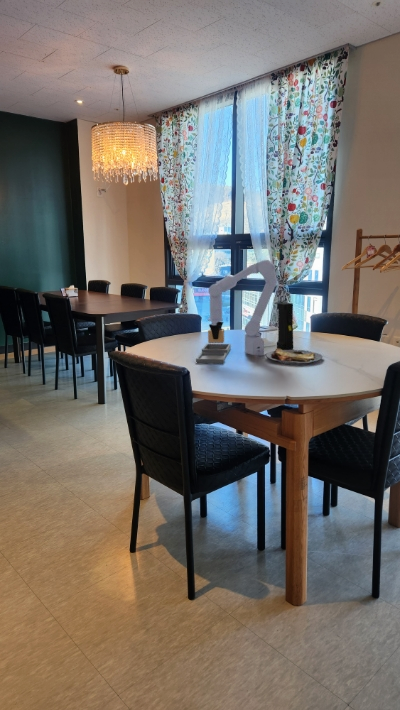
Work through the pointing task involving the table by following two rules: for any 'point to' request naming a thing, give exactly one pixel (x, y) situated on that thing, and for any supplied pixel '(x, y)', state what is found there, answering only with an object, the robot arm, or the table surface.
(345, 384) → the table surface
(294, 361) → the food plate
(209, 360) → the shallow grey tray
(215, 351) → the case
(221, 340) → the module
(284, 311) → the portable radio
